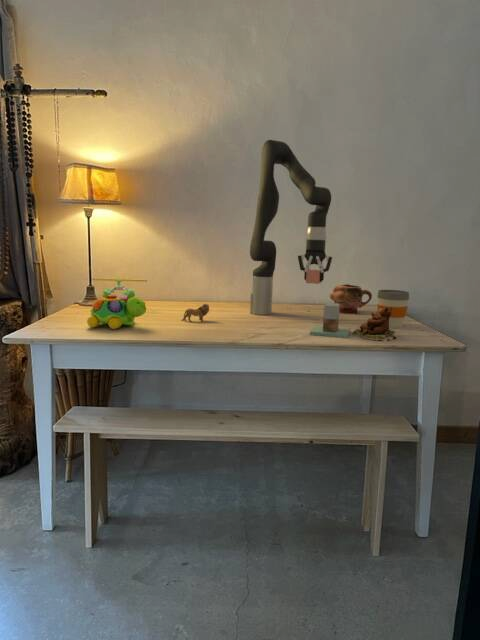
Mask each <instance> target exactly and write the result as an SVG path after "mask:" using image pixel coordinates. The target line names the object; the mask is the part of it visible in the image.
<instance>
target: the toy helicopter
mask: <svg viewBox="0 0 480 640" xmlns="http://www.w3.org/2000/svg"><path fill="white" fill-rule="evenodd" d="M91 281H102V282H103V281H106V282H107V281H109V282H110V281H111V282H113V281H114V282H117V284H116V285H115V286H113V287H112V288H105V289H103V293H102V298H101V300H102V299H103V298H105V297H106V296H108V295H112V293H115V291H123V295H124V296H127V297H124V296H122V297H121V296H118V297H117V298H120V299H123V298H126V299H127V300H129V299H130V298H132V297H136V294H135V289H133V288H131V289H129V288H128V287H126V286H123V285H121V282H148V279H137V278H136V279H132V278H131V279H130V278H129V279H128V278H91Z"/></svg>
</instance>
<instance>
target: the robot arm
mask: <svg viewBox="0 0 480 640" xmlns="http://www.w3.org/2000/svg"><path fill="white" fill-rule="evenodd" d="M260 155H261V156H260V177H259V178H260V180H259V189H258V195H257V202H256V203H257V204H256V210H255V211H256V213H255V221H254V226H253V231H252V235H251V236H252V237H251V240H250V247H249V256H250V258H251V260H252V261H254V262H260V263H261V264H260V265H259V266H257V267H256V268H254V269H253V270H252V287H251V290H252V291H251V292H250V306H249V307H250V309H249V313H250V314H253V315H259V316H269V315H272V312H273V311H272V310H273V309H272V308H273V307H272V306H273V287H274V286H273V285H274V284H273V283H274V274H275V270H276V262H277V261H276V259H277V246H276V244H275V242H274V241H272V240H265V237H266V232H267V230H268V228H269V226H270V225H271V223H272V221H273V220H274V218H275V217H276V216H277V213H278V209H279V204H280V203H279V201H280V193H279V189H278V187H277V183H276V181H275V177H274V173H275V172H274V171H275V165H281V166H283V167H284V168H285V169H287V171H288V173H289V178H290V180H291V182H292V183H293V184H294V186H296V187H297V189H298V190H300V192H301V196H302V197H303V199H304V200H305V202H306V203H307V204H309V205H311V206H315V208H314V211H311V212H309V213H308V217H307V219H308V220H307V230H306V245H305V252H304V254H302V255H301V254H300V255H297V260H298V265H299V270H301V271H303V272H304V276H303V278H304V280H305V281H306V274H307V270H310V268H311V266H312V265H317V266H318V268H319V270H320V271H321V273H320V282H321V283H322V282H323V281H324V278H325V272H326V273H327V272H328V271H329V270H330V268H331V264H332V262H333V256H329V255H326V242H327V241H326V239H327V231H326V230H327V226H326V224H327V215H328V213H329V210H330V206H331V202H332V194H331V191H330V189H329V188H327V187H322V186H316V184H317V183H316V180H315V178H314V176H312V175H311V174H310V173H309V172H308V171H307V170H306V168H305V167H304V166H303V165H302V164H301V163H300V161H299V160H298V158H297V157H296V155H295V154H294V152H293V151H292V149H291V148H290V146H289V144H287V143H286V142H285V141H280V140H274V139H268V140H265V142H264V143H263V146H262V149H261V153H260ZM304 260H306V261H307V262H306V264H305V265H306V266H304ZM324 260H325V261H326V267H324V264H323V261H324Z"/></svg>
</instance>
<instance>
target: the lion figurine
mask: <svg viewBox="0 0 480 640" xmlns="http://www.w3.org/2000/svg"><path fill="white" fill-rule="evenodd" d="M209 311H210V304H208V303H203V304H202V306H200V307H198V308H195V309H194V308H187V309H185V311H184V314H183V318H182V319H181V320H180V321H181V322H183V321H185V322H187V319H188V322H190V323H193V320H191V317H192V316H194V317H198V320H201V321H200V322H202V321H204V316H207V314H208V313H209ZM186 318H187V319H186Z"/></svg>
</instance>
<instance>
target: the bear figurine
mask: <svg viewBox="0 0 480 640" xmlns="http://www.w3.org/2000/svg"><path fill="white" fill-rule="evenodd" d="M391 309H392V307H390V308H388V306H387V307H386V308H383V309H379V310H378V309H377V311H376V312H373V311H372V312H371V318H367V321H366V322H363V323H362V324H360V325H359V328H357V329H354V330H353V332H352V335H353V336H354V335H355V336H356V337H358V338H360V339H361V338H363V339H364V338H365V340H366V339H367V340H374V341H380V340H381V341H382V342H389V341H392V340H393V339H394V338H397V337H398V335H397V332H396V331H394V330H391V329H390V328H389V317H390V316H391ZM395 333H396V334H395ZM397 339H398V338H397Z"/></svg>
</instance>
